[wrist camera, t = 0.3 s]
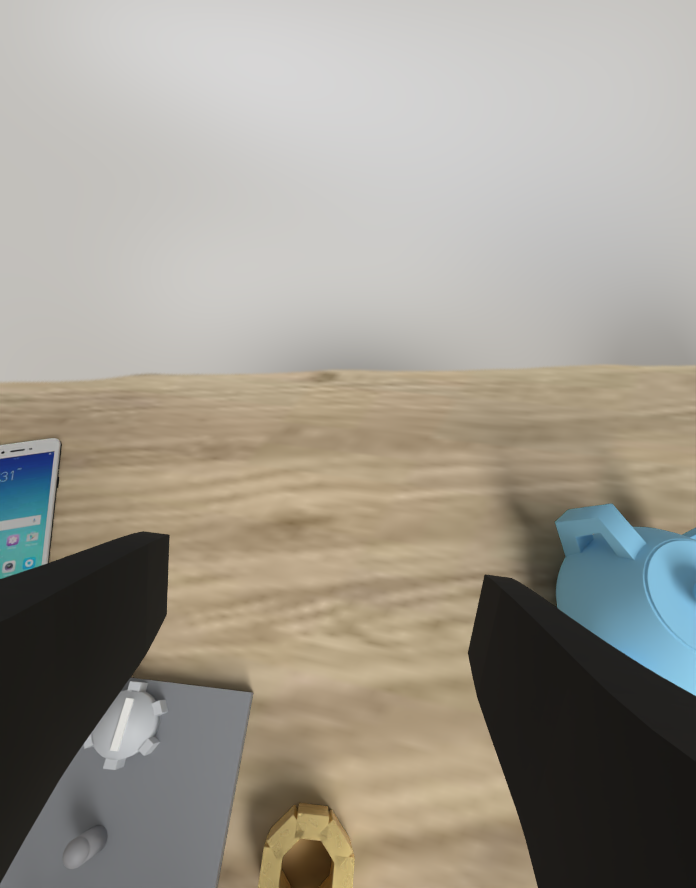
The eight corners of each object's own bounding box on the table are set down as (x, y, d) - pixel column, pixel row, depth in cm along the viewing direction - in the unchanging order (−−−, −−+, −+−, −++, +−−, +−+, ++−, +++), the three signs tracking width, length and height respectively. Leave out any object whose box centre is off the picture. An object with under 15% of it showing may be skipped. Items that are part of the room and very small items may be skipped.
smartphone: (-61, 613, 34) (-25, 447, 41) (-53, 615, 35) (-20, 452, 42) (43, 593, 35) (61, 436, 42) (49, 595, 36) (65, 440, 43)
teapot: (682, 537, 43) (786, 493, 33) (745, 720, 35) (903, 729, 26) (528, 526, 42) (590, 478, 33) (559, 710, 34) (651, 716, 25)
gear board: (184, 1061, 24) (160, 1131, 21) (-103, 1029, 24) (-183, 1093, 20) (253, 692, 33) (245, 692, 30) (43, 666, 33) (8, 663, 29)
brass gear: (344, 922, 28) (348, 946, 25) (256, 912, 28) (250, 935, 25) (353, 809, 30) (357, 820, 28) (273, 799, 30) (269, 809, 28)
